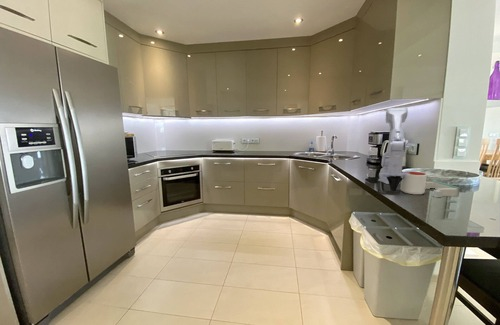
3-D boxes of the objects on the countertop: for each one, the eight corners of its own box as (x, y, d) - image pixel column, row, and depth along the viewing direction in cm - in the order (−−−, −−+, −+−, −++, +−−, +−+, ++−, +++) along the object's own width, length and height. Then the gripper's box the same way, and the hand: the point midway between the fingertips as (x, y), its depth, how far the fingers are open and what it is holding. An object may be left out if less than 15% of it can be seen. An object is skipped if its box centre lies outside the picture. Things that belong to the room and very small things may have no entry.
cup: (429, 195, 106) (432, 175, 105) (409, 195, 106) (411, 175, 105) (414, 189, 116) (416, 171, 114) (395, 189, 116) (397, 171, 115)
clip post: (432, 196, 104) (433, 190, 104) (437, 196, 104) (438, 190, 104) (436, 197, 102) (437, 191, 102) (441, 197, 102) (442, 191, 102)
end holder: (415, 188, 118) (416, 180, 118) (433, 188, 118) (434, 180, 117) (437, 196, 104) (438, 187, 103) (458, 196, 104) (459, 187, 103)
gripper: (385, 165, 105) (383, 192, 107) (415, 165, 105) (413, 192, 107) (377, 163, 112) (375, 189, 114) (405, 163, 112) (403, 188, 114)
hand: (393, 190), depth 111 cm, fingers closed
